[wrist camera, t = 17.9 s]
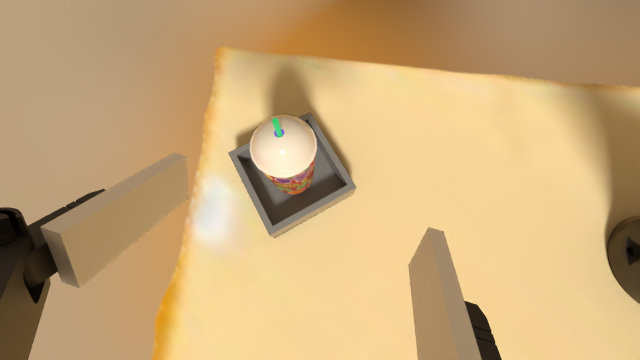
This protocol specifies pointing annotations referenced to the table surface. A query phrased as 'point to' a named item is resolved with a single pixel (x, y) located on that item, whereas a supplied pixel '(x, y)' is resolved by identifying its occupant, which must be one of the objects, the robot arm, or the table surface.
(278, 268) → the table surface
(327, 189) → the holder tray
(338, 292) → the table surface
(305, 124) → the smoothie
